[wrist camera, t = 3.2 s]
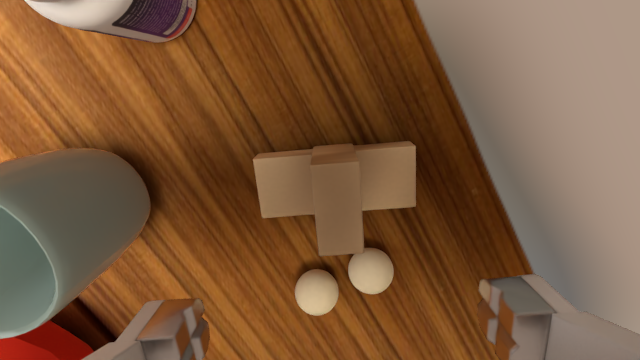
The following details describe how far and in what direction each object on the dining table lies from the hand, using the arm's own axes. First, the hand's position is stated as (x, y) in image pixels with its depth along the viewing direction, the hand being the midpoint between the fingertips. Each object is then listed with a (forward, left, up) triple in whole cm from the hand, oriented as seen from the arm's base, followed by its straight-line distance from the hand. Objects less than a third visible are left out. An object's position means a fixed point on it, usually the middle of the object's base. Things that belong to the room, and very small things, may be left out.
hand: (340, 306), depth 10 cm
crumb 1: (+2, +9, -12) cm, 15 cm away
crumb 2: (-2, +7, -12) cm, 14 cm away
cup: (+16, 0, -14) cm, 21 cm away
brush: (0, 0, -14) cm, 14 cm away
